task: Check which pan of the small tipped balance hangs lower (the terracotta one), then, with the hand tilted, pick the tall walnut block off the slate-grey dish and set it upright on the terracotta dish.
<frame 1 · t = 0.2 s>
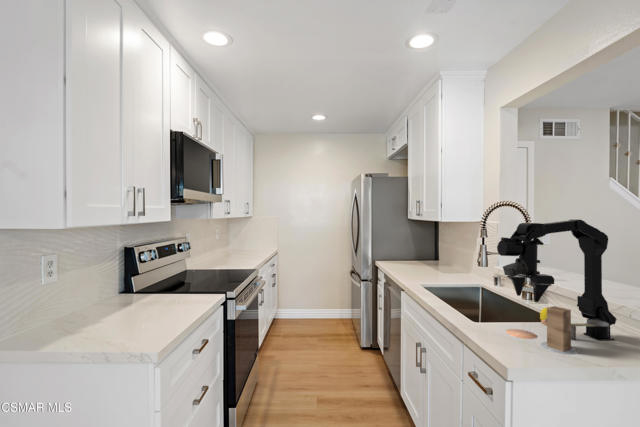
hand: (527, 298, 117), 15 cm above the worktop, tool pointing down, fingers open, 9 cm apart
walnut block: (558, 347, 105), point 1 cm above the worktop, touching slate dish
lemon: (548, 327, 130), on the worktop
slate dish: (558, 351, 105), on the worktop
balance: (573, 342, 113), on the worktop
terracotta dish: (521, 336, 118), on the worktop
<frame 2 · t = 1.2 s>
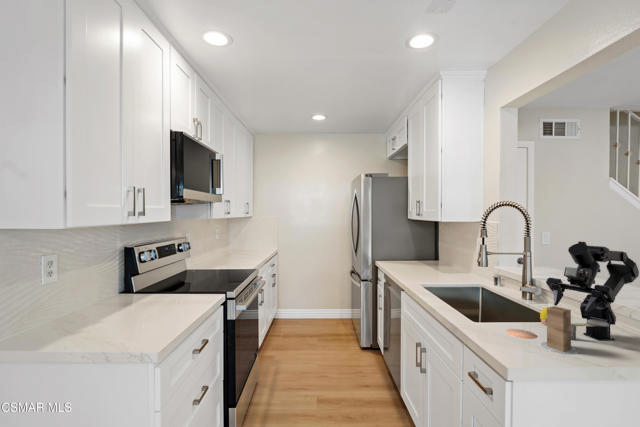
hand: (570, 308, 109), 13 cm above the worktop, tool tilted 45°, fingers open, 9 cm apart
nothing on the worktop moved.
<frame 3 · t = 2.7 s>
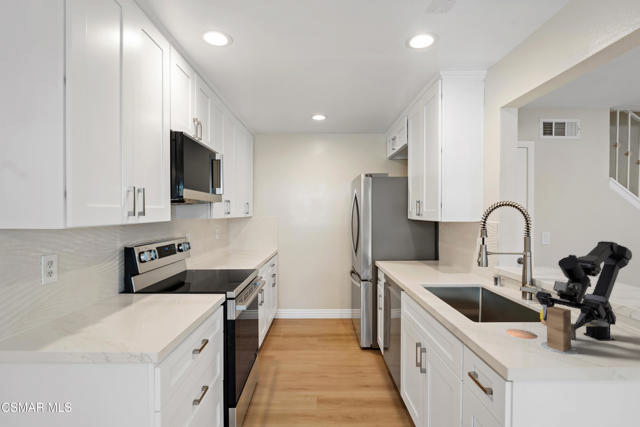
hand: (559, 324, 105), 9 cm above the worktop, tool tilted 45°, fingers open, 9 cm apart
nothing on the worktop moved.
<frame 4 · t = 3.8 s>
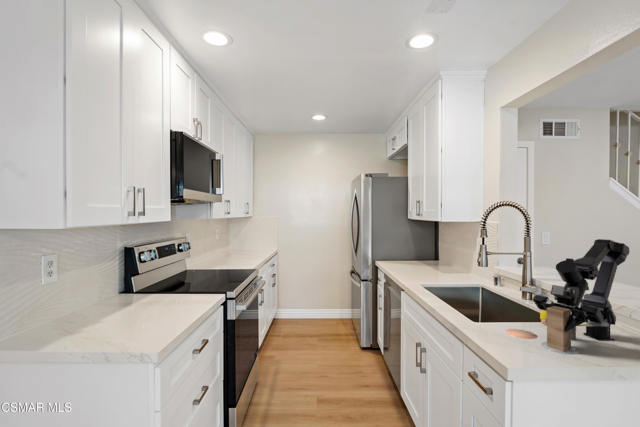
hand: (556, 328, 105), 8 cm above the worktop, tool tilted 45°, fingers closed on walnut block, 5 cm apart
walnut block: (558, 347, 105), point 1 cm above the worktop, touching gripper, slate dish
everything else where it was.
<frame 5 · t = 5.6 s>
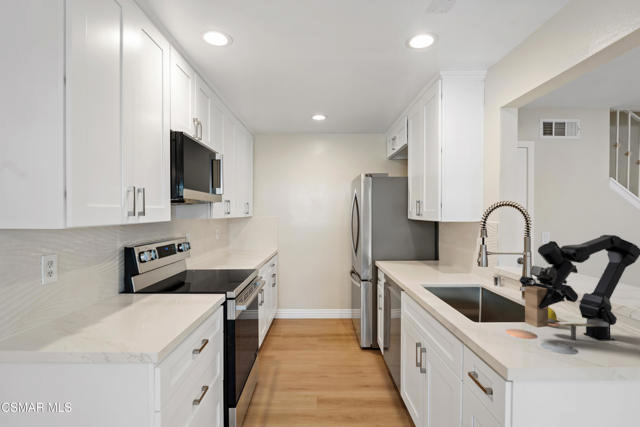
hand: (533, 305, 112), 13 cm above the worktop, tool tilted 45°, fingers closed on walnut block, 5 cm apart
walnut block: (536, 324, 112), point 7 cm above the worktop, touching gripper
everything else where it was.
when the fingers open (9 cm above the worktop, at t = 7.4 s): walnut block drops 1 cm, resting on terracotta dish.
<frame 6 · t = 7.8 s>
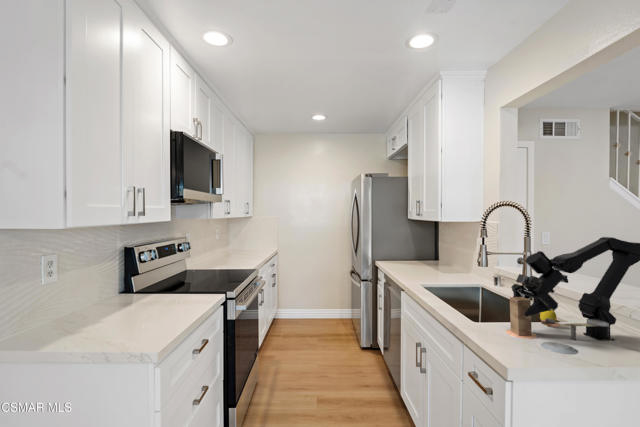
hand: (517, 311, 118), 9 cm above the worktop, tool tilted 45°, fingers open, 9 cm apart
walnut block: (521, 333, 118), point 1 cm above the worktop, touching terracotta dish
everything else where it was.
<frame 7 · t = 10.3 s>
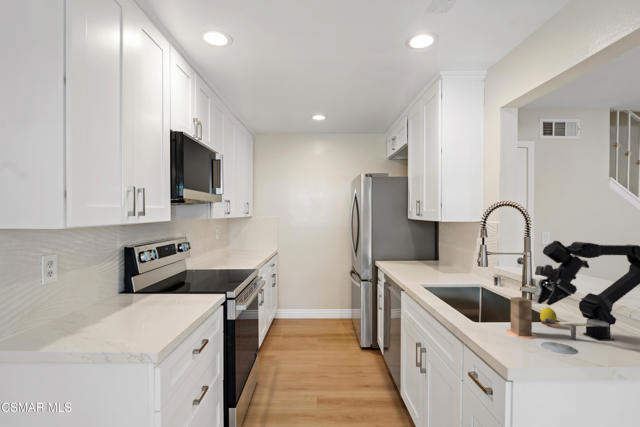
hand: (543, 303, 119), 12 cm above the worktop, tool tilted 35°, fingers open, 9 cm apart
nothing on the worktop moved.
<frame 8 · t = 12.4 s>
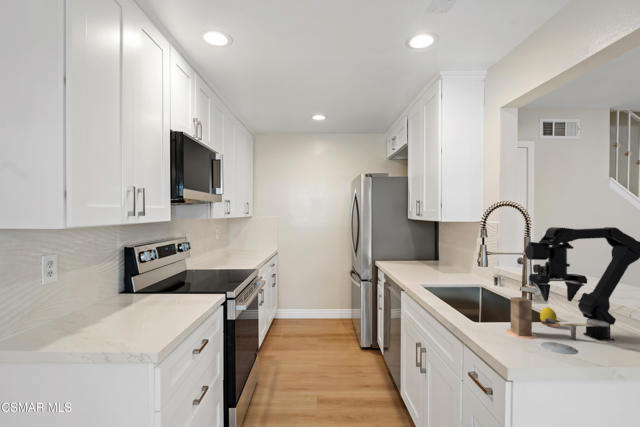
hand: (557, 301, 120), 13 cm above the worktop, tool pointing down, fingers open, 9 cm apart
nothing on the worktop moved.
at the end: walnut block 0.0 cm off-centre on the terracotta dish, point 1.2 cm above the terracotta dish's base; walnut block tilted 0°; the gripper is holding nothing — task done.
